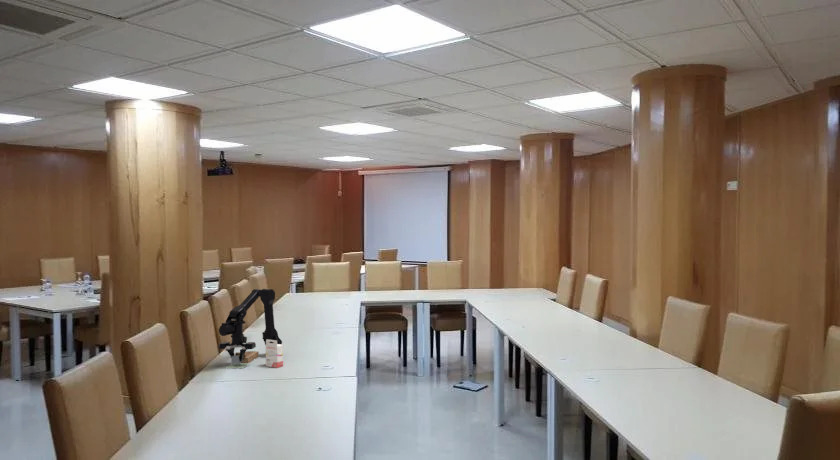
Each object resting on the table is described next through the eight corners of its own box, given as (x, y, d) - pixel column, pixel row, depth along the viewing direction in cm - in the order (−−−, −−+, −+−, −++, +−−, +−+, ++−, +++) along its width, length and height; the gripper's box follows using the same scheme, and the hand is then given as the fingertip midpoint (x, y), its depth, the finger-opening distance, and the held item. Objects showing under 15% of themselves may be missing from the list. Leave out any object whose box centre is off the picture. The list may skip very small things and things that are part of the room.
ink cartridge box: (283, 365, 310) (283, 339, 310) (277, 368, 306) (277, 340, 306) (271, 364, 314) (271, 337, 314) (265, 366, 310) (265, 339, 310)
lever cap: (243, 361, 313) (243, 352, 313) (238, 363, 307) (238, 354, 307) (236, 360, 313) (236, 351, 313) (231, 363, 307) (231, 354, 307)
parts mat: (248, 364, 314) (248, 363, 314) (242, 368, 305) (242, 367, 305) (232, 364, 315) (232, 363, 315) (226, 368, 306) (225, 367, 306)
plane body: (258, 356, 332) (258, 346, 331) (247, 363, 316) (247, 352, 316) (246, 356, 332) (246, 346, 332) (235, 363, 316) (235, 352, 316)
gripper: (259, 330, 317) (259, 358, 317) (226, 329, 319) (227, 357, 319) (251, 334, 306) (252, 363, 306) (218, 333, 307) (218, 362, 308)
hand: (237, 361), depth 310 cm, fingers closed on lever cap, 4 cm apart
